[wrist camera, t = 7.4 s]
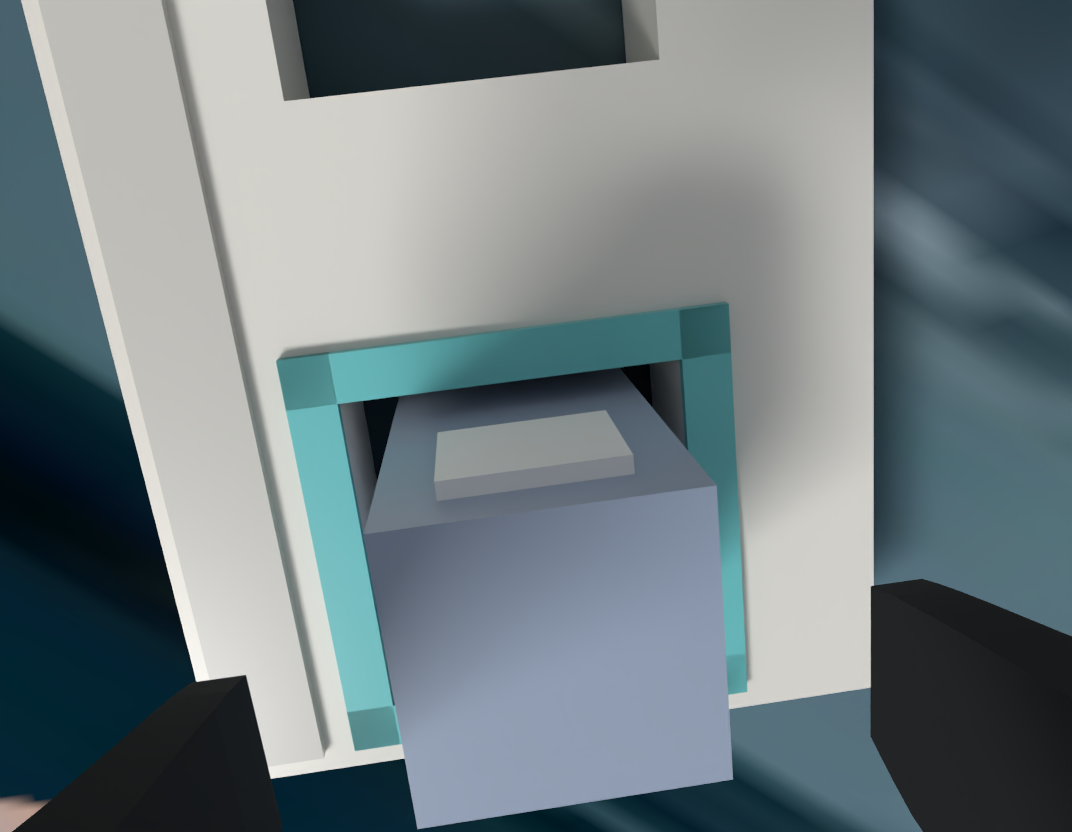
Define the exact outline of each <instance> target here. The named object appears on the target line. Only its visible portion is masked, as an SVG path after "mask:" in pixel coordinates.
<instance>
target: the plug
mask: <svg viewBox="0 0 1072 832" xmlns="http://www.w3.org/2000/svg"><path fill="white" fill-rule="evenodd" d="M364 539H365V545H366V550H367V556H368V561H369V566H370V572H371V577H372V583H373V588H374V594H375V599H376V605H377V610H378V615H379V621H380V626H381V632H382V637H383V643H384V648H385V654H386V659H387V664H388V670H389V675H390V681H391V686H392V692H393V697H394V703H395V708H396V713H397V719H398V724H399V730H400V735H401V741H402V746H403V752H404V757H405V762H406V768H407V773H408V779H409V784H410V790H411V795H412V801H413V806H414V811H415V817H416V822H417V828H418V829H421V828H427V827H433V826H440V825H446V824H452V823H459V822H465V821H471V820H478V819H484V818H490V817H497V816H503V815H510V814H516V813H522V812H529V811H535V810H541V809H548V808H554V807H560V806H567V805H573V804H579V803H586V802H592V801H598V800H605V799H611V798H618V797H624V796H630V795H637V794H643V793H649V792H656V791H662V790H668V789H675V788H681V787H687V786H694V785H700V784H706V783H713V782H719V781H726V780H732V779H733V772H732V754H731V736H730V718H729V700H728V682H727V664H726V646H725V628H724V610H723V591H722V573H721V555H720V537H719V519H718V501H717V485H716V484H715V483H714V482H713V480H712V479H711V478H710V477H709V476H708V474H707V473H706V472H705V471H704V470H703V468H702V467H701V466H700V465H699V463H698V462H697V461H696V460H695V459H694V457H693V456H692V455H691V454H690V453H689V451H688V450H687V449H686V448H685V447H684V445H683V444H682V443H681V442H680V440H679V439H678V438H677V437H676V436H675V434H674V433H673V432H672V431H671V430H670V428H669V427H668V426H667V425H666V424H665V422H664V421H663V420H662V419H661V417H660V416H659V415H658V414H657V413H656V411H655V410H654V409H653V408H652V407H651V405H650V404H649V403H648V402H647V400H646V399H645V398H644V397H643V396H642V394H641V393H640V392H639V391H638V390H637V388H636V387H635V386H634V385H633V384H632V382H631V381H630V380H629V379H628V377H627V376H626V375H625V374H624V373H623V371H622V370H621V369H620V368H612V369H604V370H596V371H589V372H581V373H573V374H566V375H558V376H550V377H542V378H535V379H527V380H519V381H512V382H504V383H496V384H489V385H481V386H473V387H465V388H458V389H450V390H442V391H435V392H427V393H419V394H412V395H404V396H399V399H398V403H397V407H396V411H395V415H394V419H393V422H392V426H391V430H390V434H389V438H388V442H387V446H386V450H385V453H384V457H383V461H382V465H381V469H380V473H379V477H378V481H377V484H376V488H375V492H374V496H373V500H372V504H371V508H370V511H369V515H368V519H367V523H366V527H365V531H364Z"/></svg>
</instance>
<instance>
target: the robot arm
mask: <svg viewBox="0 0 1072 832" xmlns="http://www.w3.org/2000/svg"><path fill="white" fill-rule="evenodd" d="M871 738H872V740H873V742H874V744H875V746H876V748H877V750H878V752H879V754H880V756H881V758H882V760H883V762H884V764H885V765H886V767H887V769H888V771H889V773H890V775H891V777H892V779H893V781H894V783H895V785H896V787H897V788H898V790H899V792H900V794H901V796H902V798H903V799H904V801H905V803H906V805H907V807H908V809H909V810H910V812H911V814H912V816H913V817H914V819H915V820H916V822H917V823H918V825H919V826H920V828H921V829H922V831H923V832H1072V636H1069V635H1067V634H1064V633H1062V632H1059V631H1057V630H1054V629H1052V628H1050V627H1047V626H1045V625H1042V624H1040V623H1037V622H1035V621H1032V620H1030V619H1028V618H1025V617H1023V616H1020V615H1018V614H1015V613H1013V612H1010V611H1008V610H1006V609H1003V608H1001V607H998V606H996V605H993V604H991V603H988V602H986V601H983V600H981V599H978V598H976V597H973V596H971V595H968V594H965V593H963V592H960V591H957V590H955V589H952V588H949V587H946V586H943V585H940V584H937V583H934V582H931V581H927V580H924V579H918V580H911V581H904V582H897V583H890V584H883V585H876V586H871ZM281 827H282V823H281V819H280V815H279V811H278V807H277V802H276V798H275V794H274V790H273V786H272V782H271V777H270V773H269V769H268V765H267V761H266V756H265V752H264V748H263V744H262V740H261V736H260V731H259V727H258V723H257V719H256V715H255V710H254V706H253V702H252V698H251V694H250V690H249V685H248V681H247V677H246V675H241V676H234V677H227V678H220V679H213V680H206V681H199V682H192V683H190V684H189V685H187V686H186V687H185V688H183V689H182V690H181V691H179V692H178V693H177V694H175V695H174V696H173V697H171V698H170V699H169V700H168V701H167V702H165V703H164V704H163V705H162V706H160V707H159V708H158V709H157V710H156V711H154V712H153V713H152V714H151V715H150V716H149V717H147V718H146V719H145V720H144V721H143V722H142V723H140V724H139V725H138V726H137V727H136V728H135V729H133V730H132V731H131V732H130V733H129V734H128V735H127V736H125V737H124V738H123V739H122V740H121V741H120V742H118V743H117V744H116V745H115V746H114V747H113V748H112V749H110V750H109V751H108V752H107V753H106V754H105V755H103V756H102V757H101V758H100V759H99V760H98V761H96V762H95V763H94V764H93V765H92V766H91V767H89V768H88V769H87V770H86V771H85V772H84V773H82V774H81V775H80V776H79V777H78V778H77V779H75V780H74V781H73V782H72V783H71V784H70V785H68V786H67V787H66V788H65V789H64V790H63V791H61V792H60V793H59V794H58V795H57V796H56V797H54V798H53V799H52V800H51V801H50V802H48V803H47V804H46V805H45V806H44V807H42V808H41V809H40V810H39V811H37V812H36V813H35V814H34V815H32V816H31V817H30V818H29V819H27V820H26V821H25V822H24V823H22V824H21V825H20V826H19V827H18V828H16V829H15V830H14V831H12V832H281Z"/></svg>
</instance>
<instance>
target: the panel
mask: <svg viewBox="0 0 1072 832" xmlns="http://www.w3.org/2000/svg"><path fill="white" fill-rule="evenodd" d="M21 2H22V6H23V9H24V13H25V17H26V21H27V25H28V29H29V33H30V37H31V40H32V44H33V48H34V52H35V56H36V60H37V64H38V68H39V72H40V75H41V79H42V83H43V87H44V91H45V95H46V99H47V103H48V107H49V110H50V114H51V118H52V122H53V126H54V130H55V134H56V138H57V141H58V145H59V149H60V153H61V157H62V161H63V165H64V169H65V173H66V176H67V180H68V184H69V188H70V192H71V196H72V200H73V204H74V208H75V211H76V215H77V219H78V223H79V227H80V231H81V235H82V239H83V242H84V246H85V250H86V254H87V258H88V262H89V266H90V270H91V274H92V277H93V281H94V285H95V289H96V293H97V297H98V301H99V305H100V309H101V312H102V316H103V320H104V324H105V328H106V332H107V336H108V340H109V344H110V347H111V351H112V355H113V359H114V363H115V367H116V371H117V375H118V378H119V382H120V386H121V390H122V394H123V398H124V402H125V406H126V410H127V413H128V417H129V421H130V425H131V429H132V433H133V437H134V441H135V445H136V448H137V452H138V456H139V460H140V464H141V468H142V472H143V476H144V479H145V483H146V487H147V491H148V495H149V499H150V503H151V507H152V511H153V514H154V518H155V522H156V526H157V530H158V534H159V538H160V542H161V546H162V549H163V553H164V557H165V561H166V565H167V569H168V573H169V577H170V580H171V584H172V588H173V592H174V596H175V600H176V604H177V608H178V612H179V615H180V619H181V623H182V627H183V631H184V635H185V639H186V643H187V647H188V650H189V654H190V658H191V662H192V666H193V670H194V674H195V678H196V682H199V681H206V680H213V679H220V678H227V677H234V676H241V675H246V677H247V681H248V685H249V690H250V694H251V698H252V702H253V706H254V710H255V715H256V719H257V723H258V727H259V731H260V736H261V740H262V744H263V748H264V752H265V756H266V761H267V765H268V769H269V773H270V777H271V779H272V778H278V777H285V776H292V775H298V774H305V773H311V772H318V771H325V770H331V769H338V768H344V767H351V766H357V765H364V764H371V763H377V762H384V761H390V760H397V759H403V758H405V757H404V752H403V746H402V741H401V735H400V730H399V724H398V719H397V713H396V708H395V703H394V697H393V692H392V686H391V681H390V675H389V670H388V664H387V659H386V654H385V648H384V643H383V637H382V632H381V626H380V621H379V615H378V610H377V605H376V599H375V594H374V588H373V583H372V577H371V572H370V566H369V561H368V556H367V550H366V545H365V539H364V531H365V527H366V523H367V519H368V515H369V511H370V508H371V504H372V500H373V496H374V492H375V488H376V484H377V478H376V472H375V467H374V461H373V455H372V450H371V444H370V438H369V432H368V427H367V421H366V415H365V410H364V404H363V401H365V400H373V399H381V398H388V397H396V396H404V395H412V394H419V393H427V392H435V391H442V390H450V389H458V388H465V387H473V386H481V385H489V384H496V383H504V382H512V381H519V380H527V379H535V378H542V377H550V376H558V375H566V374H573V373H581V372H589V371H596V370H604V369H612V368H620V367H627V366H635V365H643V364H649V367H650V380H651V393H652V406H653V409H654V410H655V411H656V413H657V414H658V415H659V416H660V417H661V419H662V420H663V421H664V422H665V424H666V425H667V426H668V427H669V428H670V430H671V431H672V432H673V433H674V434H675V436H676V437H677V438H678V439H679V440H680V442H681V443H682V444H683V445H684V447H685V448H686V449H687V450H688V451H689V453H690V454H691V455H692V456H693V457H694V459H695V460H696V461H697V462H698V463H699V465H700V466H701V467H702V468H703V470H704V471H705V472H706V473H707V474H708V476H709V477H710V478H711V479H712V480H713V482H714V483H715V484H716V485H717V501H718V519H719V537H720V555H721V573H722V591H723V610H724V628H725V646H726V664H727V682H728V700H729V709H732V708H739V707H746V706H752V705H759V704H765V703H772V702H779V701H785V700H792V699H798V698H805V697H811V696H818V695H825V694H831V693H838V692H844V691H851V690H857V689H864V688H871V586H874V0H622V12H623V25H624V38H625V51H626V63H624V64H615V65H606V66H597V67H588V68H579V69H570V70H561V71H552V72H543V73H534V74H525V75H516V76H507V77H498V78H489V79H480V80H471V81H462V82H453V83H444V84H435V85H426V86H417V87H408V88H399V89H390V90H381V91H372V92H363V93H354V94H345V95H336V96H327V97H318V98H310V96H309V90H308V85H307V79H306V73H305V68H304V62H303V56H302V50H301V45H300V39H299V33H298V28H297V22H296V16H295V11H294V5H293V0H21Z"/></svg>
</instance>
